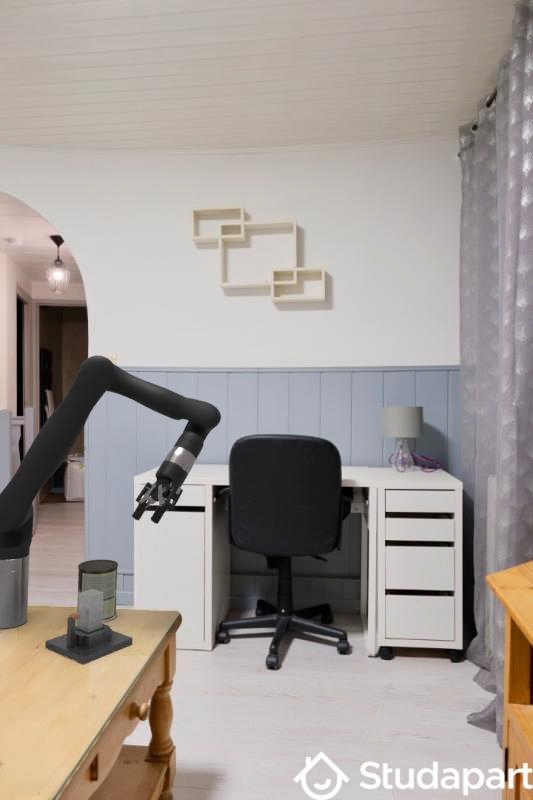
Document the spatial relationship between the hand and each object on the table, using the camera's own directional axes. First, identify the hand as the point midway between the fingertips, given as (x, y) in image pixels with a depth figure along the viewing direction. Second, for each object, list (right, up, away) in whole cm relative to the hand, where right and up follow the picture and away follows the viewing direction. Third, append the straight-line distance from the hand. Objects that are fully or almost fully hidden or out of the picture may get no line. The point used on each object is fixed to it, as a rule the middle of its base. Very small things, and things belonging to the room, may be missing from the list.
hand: (144, 520), depth 145 cm
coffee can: (-15, -28, +9) cm, 33 cm away
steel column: (-11, -26, -10) cm, 30 cm away
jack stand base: (-11, -28, -10) cm, 31 cm away
